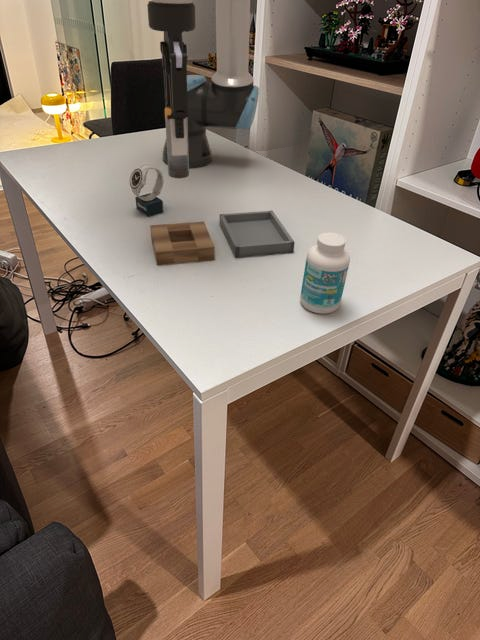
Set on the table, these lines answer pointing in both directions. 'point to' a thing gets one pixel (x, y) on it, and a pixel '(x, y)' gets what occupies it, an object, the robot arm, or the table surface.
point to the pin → (180, 163)
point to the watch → (149, 202)
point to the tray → (256, 234)
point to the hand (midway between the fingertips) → (177, 150)
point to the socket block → (182, 243)
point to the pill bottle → (325, 274)
